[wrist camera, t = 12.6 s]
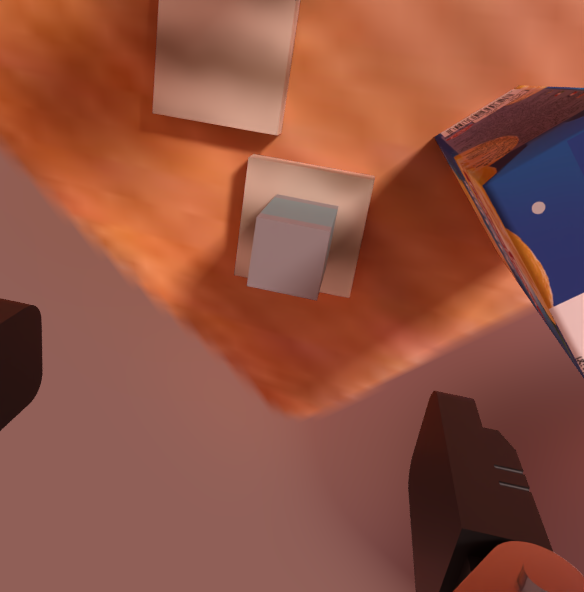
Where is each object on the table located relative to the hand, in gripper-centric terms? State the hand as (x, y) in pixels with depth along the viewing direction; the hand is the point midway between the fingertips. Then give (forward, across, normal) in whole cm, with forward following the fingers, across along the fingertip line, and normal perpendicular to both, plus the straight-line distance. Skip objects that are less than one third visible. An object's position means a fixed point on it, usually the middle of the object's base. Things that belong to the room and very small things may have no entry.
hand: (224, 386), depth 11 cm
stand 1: (+36, +10, -6) cm, 38 cm away
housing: (+34, +2, +6) cm, 35 cm away
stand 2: (+36, +2, +6) cm, 37 cm away
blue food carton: (+36, -13, -1) cm, 39 cm away
